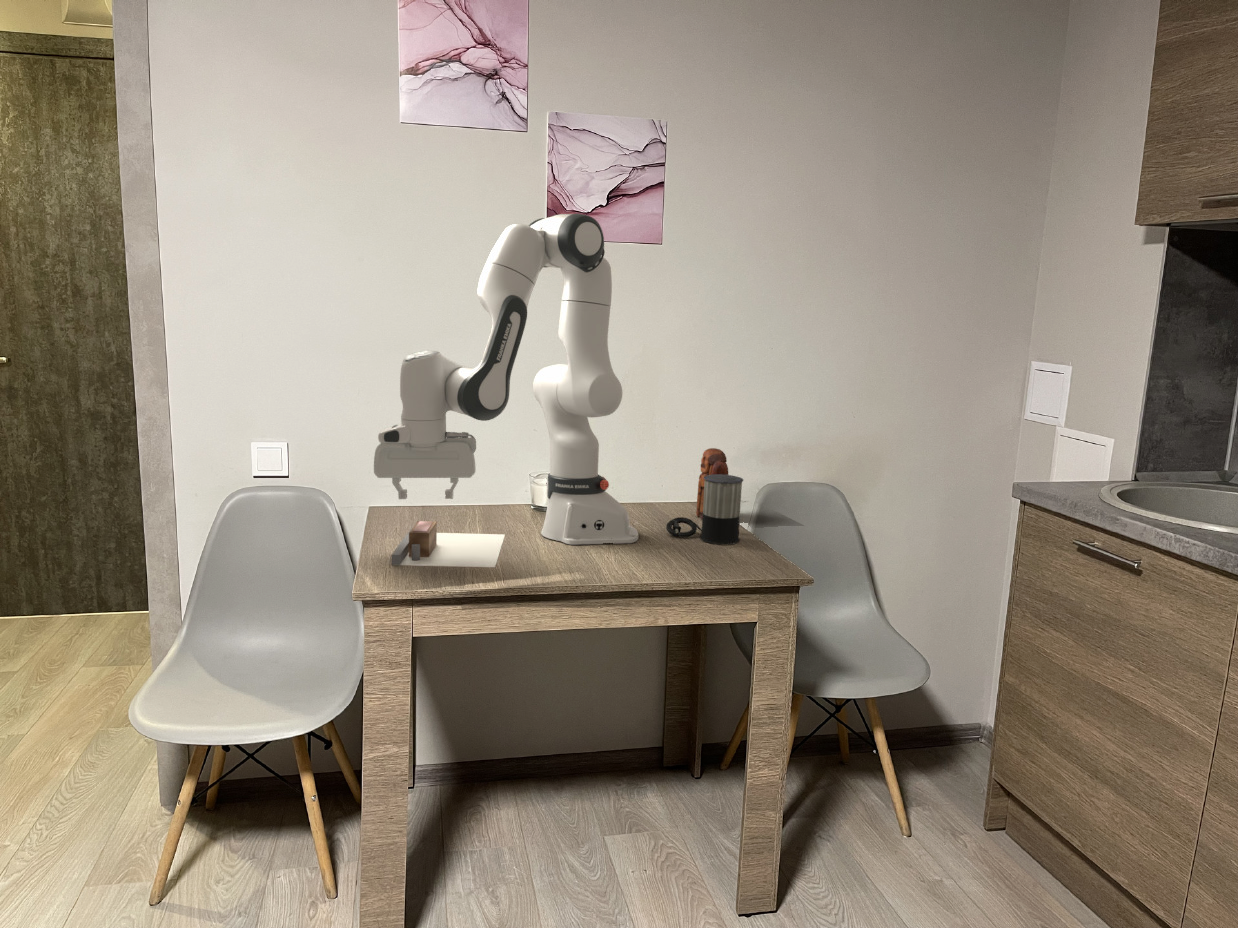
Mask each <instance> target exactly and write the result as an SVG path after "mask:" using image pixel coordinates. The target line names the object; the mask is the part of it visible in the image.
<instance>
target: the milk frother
mask: <svg viewBox="0 0 1238 928" xmlns="http://www.w3.org/2000/svg"><path fill="white" fill-rule="evenodd" d="M703 478H704V479H705V485H704V503H703V520H702V519H701V520H702V521H701V522H702V523H701V528H700V526H699V525H698V524H697V523H696V522H694V521H693V519H690V518H687V517H683V516H681V517H680V516H679V517H678V516H677V517H674V518H672V519H670V520H669V521H668V522H667V524H666V526H665V528H666V531H667V533H669V534H670V535H672V536H674V537H679V538H689V537H692V536H694V535H695V534H696V533H697V530H699V531H700V532H701V533H700V536H699V539H700V540H701V541H703V542H704V543H709V544H712V543H716V544H715V545H720V544H728V545H734V544H733V543H735V544H738V543H739V542H740V541H741V540H740V537H739V536H740V519H741V517H740V515H741V507H742V505H741V501H742V488H743V482H744V478H742V477H739V476H738V475H737V476H736V475H733V474H732V475H731V474H728V475H721V474H716V475H714V474H713V475H707V476H704V477H703ZM680 524H685V525H688V526H689V527H690V528H691V530H688V531H686V532H683V531H682V527H681V526H680Z"/></svg>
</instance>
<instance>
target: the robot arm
mask: <svg viewBox="0 0 1238 928" xmlns="http://www.w3.org/2000/svg"><path fill="white" fill-rule="evenodd" d="M604 237H605V235H604V233H603V229H602V226H601V225H600V223H599V222H598V221H597V220H596V219H595V218H594V217H592V216H590V215H588V214H587V215H586V214H583V213H573V214H571V213H569V214H568V213H566V214H565V213H564V214H563V213H561V214H556V215H552V216H550V217H549V216H548V217H544V218H543V217H542V218H537V219H536V220H533V221H532V222H530V223H529V224H528V225H527V224H523V223H513V224H511V225H508V226H507V227H506V228H505V229H504V231H503V232H502V233H501V235H500V236H499V238H498V240H496V243H495V245H494V246H493V248H492V249H491V251H490V253H489V255H488V258H487V260H486V262H485V264H484V266H483V269H482V272H481V274H480V276H479V280H478V283H477V284H478V286H477V290H476V292H477V293H476V294H477V298H478V300H479V303H480V304H481V306H482V307H483V310H485V311H486V312H487V313H488V314H489V316H490V319H491V331H490V334H489V337H488V340H487V342H486V346H485V349H484V353H483V356H482V359H481V361H480V362H479V364H478V365H477V366H476V367H470V366H466V365H463V364H460V363H458V362H456V361H453V360H450V359H449V358H447V357H446V356H444V355H443V354H442V353H440V352H439V351H438V350H421V351H417V352H413V353H409V354H407V355H406V356H405V357H404V358H403V360H402V363H401V368H400V377H399V379H400V380H399V394H400V395H399V396H400V400H401V403H402V404H401V405H402V412H401V415H400V422H401V423H398V424H394V425H393V426H390V427H387V428H384V429H383V430H381V431H380V432H379V433H378V436H377V438H378V442H379V444H378V445H377V446H376V448H375V451H374V458H373V474H374V476H376V477H377V478H378V479H391V480H392V481H391V482H392V485H393V487H394V488H395V489H396V491H397V493H398V494H397V495H398V496H397V497H398V500H407V499H408V494H407V493H408V489H407V488H406V489H404V488H403V487H402V485H401V483H400V482H401V481H402V479H449V480H450V481H449V482H450V483H451V484H452V485H451V487H450V488H449V489H448V488H447V489H445V490H444V495H445V496H444V498H445V500H453V499H454V490H455V488H456V487H457V484H458V483H459V479H469V478H470V479H471V478H472V477H473V476H474V475H475V473H476V470H477V469H476V459H475V452H476V450H477V441H476V437H475V436H474V435H473V434H470V433H469V432H467V431H466V432H465V431H462V432H455V431H447V416H446V415H447V413H448V412H449V411H450V412H455V413H458V414H461V415H465V416H468V417H470V418H471V419H472V418H473V419H474V420H478V421H483V422H484V421H491V420H494V419H495V418H497V417H499V415H501V414H502V413H503V412H504V410H505V409H506V407H507V404H508V403H509V399H510V389H511V384H510V383H511V377H512V376H511V375H512V372H513V369H514V364H515V362H516V358H517V355H518V352H519V348H520V344H521V341H522V338H523V335H524V332H525V328H526V324H527V319H528V306H529V302H530V298H531V295H532V293H533V290H534V288H535V285H536V283H537V280H538V278H539V274H540V272H541V271H542V269H543V268H557V269H560V271H561V274H562V277H563V289H562V295H561V302H560V313H559V322H558V331H557V333H558V339H559V340H560V342H561V343H562V344H563V347H564V350H565V352H566V358H567V364H565V363H557V364H552V365H549V366H544V367H543V368H541V369H540V370H539V371H538V372H537V373H536V374H535V377H534V379H533V384H532V391H533V395H534V397H535V399H536V401H537V402H538V404H539V405H540V407H541V409H542V412H543V415H544V418H545V422H546V425H547V426H546V427H547V432H548V437H549V473H548V475H547V479H546V480H547V481H546V495H547V507H546V511H545V517H544V518H545V519H544V522H543V525H542V529H541V532H540V534H541V535H542V537H545V538H546V539H549V540H553V541H554V540H555V541H557V542H562V543H564V544H567V545H604V544H603V543H613V544H633V543H635V542H638V540H639V539H640V538H639V537H640V536H639V531H638V529H637V528H635V527H633V526H631V525H630V517H629V514H628V511H627V509H626V507H625V506H624V505H623V504H621V503H620V502H619V501H618V500H617V499H615V498H614V497H613V496H612V495H611V494H609V493H608V492H607V490H608V488H609V486H610V483H609V481H608V480H607V478H606V477H604V476H603V475H600V474H599V452H600V443H599V440H598V438H597V436H596V435H595V434H594V432H593V431H592V428H591V425H590V422H589V418H600V417H601V418H602V417H607V416H610V415H612V414H614V413H615V412H616V411H617V410H618V408H620V405H621V403H622V400H623V388H622V387H623V386H622V383H621V381H620V380H619V378H618V377H617V376H616V374H615V372H614V370H613V367H612V362H611V359H610V354H609V353H610V352H609V345H608V344H609V341H608V338H609V328H610V327H609V325H610V313H611V307H612V293H613V292H612V290H613V289H612V288H613V287H612V286H613V283H612V282H613V281H612V269H611V268H612V267H611V264H610V262H609V261H608V260H607V259H606V258H605V238H604Z"/></svg>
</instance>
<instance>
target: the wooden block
mask: <svg viewBox="0 0 1238 928" xmlns="http://www.w3.org/2000/svg"><path fill="white" fill-rule="evenodd" d="M415 523H416V524H415ZM415 523H414V524H415V525H414V524H413V525H414V526H413V525H412V527H413V528H412V527H411V528H412V529H411V528H410V529H411V530H410V529H409V531H410V532H409V531H408V532H409V557H412V544H420V557H429V556H430V555H431V553H432V551H433V550H434V548H435V546H436V541H437V533H438V532H437V531H438V530H437V529H438V527H437V524H438V523H437V520H436V521H433V520H432V521H431V520H429V521H428V520H425V521H424V520H417V521H416V522H415Z"/></svg>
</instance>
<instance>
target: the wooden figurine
mask: <svg viewBox="0 0 1238 928" xmlns="http://www.w3.org/2000/svg"><path fill="white" fill-rule="evenodd" d="M700 462H701V464H700V472H701V473H700V475H699V476H698V477H699V478H698V481H697V482H698V483H697V495H696V496H697V497H696V509H695V510H696V513H695V514H696V517H697V516H699V517H698V518H700V520H703V503H704V485H705V479H704V478H703V477H704V476H707V475H713V474H714V475H716V474H721V475H729V466H728V463H727V456H726V454H725V452H724V451H723V450H721V449H720V448H717V447H711V448H707V449H705V450H704V451H703V453H702V457H701V460H700Z"/></svg>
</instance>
